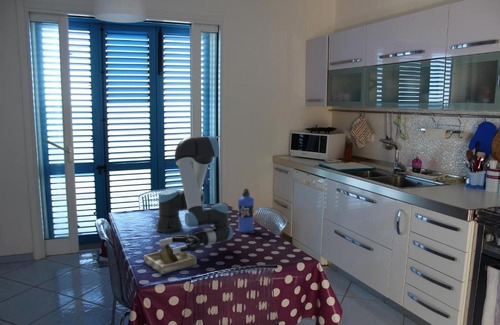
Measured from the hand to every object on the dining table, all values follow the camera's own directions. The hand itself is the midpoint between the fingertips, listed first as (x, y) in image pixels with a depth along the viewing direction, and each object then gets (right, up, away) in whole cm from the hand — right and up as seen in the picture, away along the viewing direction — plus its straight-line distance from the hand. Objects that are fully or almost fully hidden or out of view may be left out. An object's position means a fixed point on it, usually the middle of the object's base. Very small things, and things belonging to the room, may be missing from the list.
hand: (166, 247), depth 197 cm
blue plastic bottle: (+37, -1, +53) cm, 64 cm away
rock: (+1, -8, +2) cm, 8 cm away
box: (+1, -8, +2) cm, 9 cm away
